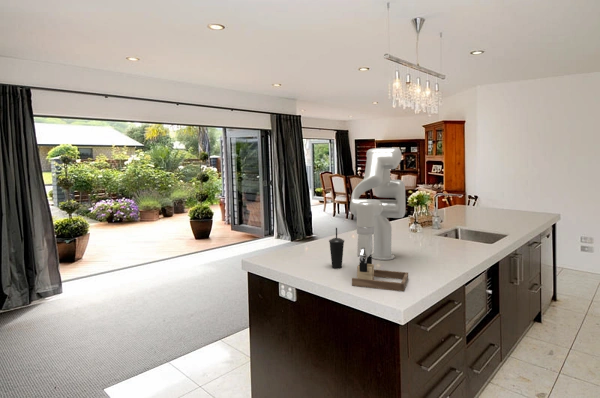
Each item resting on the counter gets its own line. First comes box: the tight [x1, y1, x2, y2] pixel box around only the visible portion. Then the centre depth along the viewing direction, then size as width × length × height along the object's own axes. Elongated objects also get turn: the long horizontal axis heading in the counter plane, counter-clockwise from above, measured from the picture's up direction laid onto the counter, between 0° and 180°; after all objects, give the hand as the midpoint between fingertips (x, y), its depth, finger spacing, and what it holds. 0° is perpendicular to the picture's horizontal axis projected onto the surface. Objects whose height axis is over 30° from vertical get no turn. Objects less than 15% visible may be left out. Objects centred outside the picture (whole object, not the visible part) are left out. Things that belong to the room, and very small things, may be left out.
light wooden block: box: [356, 263, 375, 280], centre depth 159 cm, size 6×6×7 cm
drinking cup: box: [328, 227, 345, 270], centre depth 180 cm, size 8×8×20 cm
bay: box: [351, 268, 409, 292], centre depth 156 cm, size 16×21×3 cm
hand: (365, 268), depth 159 cm, fingers open, 9 cm apart
